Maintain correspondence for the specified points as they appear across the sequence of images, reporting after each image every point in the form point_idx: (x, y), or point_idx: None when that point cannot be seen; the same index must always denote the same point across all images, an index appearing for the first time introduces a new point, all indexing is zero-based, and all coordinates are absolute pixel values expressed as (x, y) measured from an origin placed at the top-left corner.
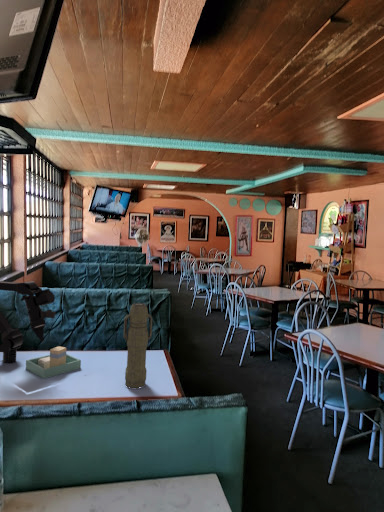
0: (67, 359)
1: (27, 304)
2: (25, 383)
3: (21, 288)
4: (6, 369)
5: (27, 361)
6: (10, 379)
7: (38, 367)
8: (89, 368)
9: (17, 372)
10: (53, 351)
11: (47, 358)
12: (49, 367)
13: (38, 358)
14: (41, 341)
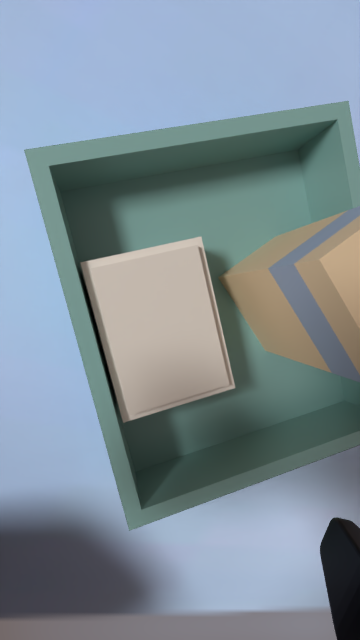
0: (162, 163)
1: None
2: (339, 503)
3: None
4: (44, 604)
5: (156, 518)
6: (243, 579)
7: (329, 454)
8: (307, 73)
9: (144, 535)
10: None
11: (151, 342)
12: (280, 355)
13: (117, 418)
14: (333, 547)
